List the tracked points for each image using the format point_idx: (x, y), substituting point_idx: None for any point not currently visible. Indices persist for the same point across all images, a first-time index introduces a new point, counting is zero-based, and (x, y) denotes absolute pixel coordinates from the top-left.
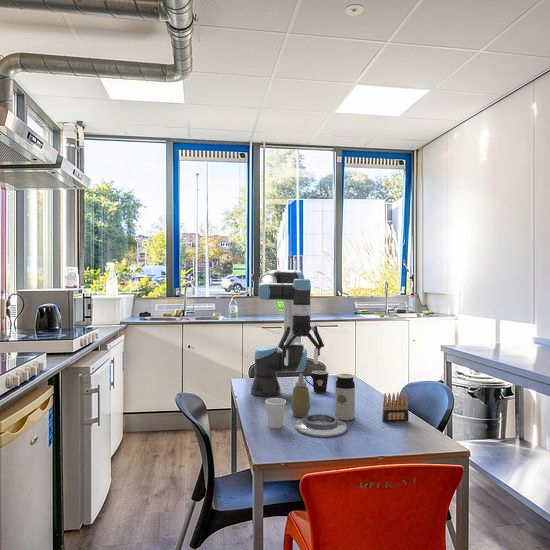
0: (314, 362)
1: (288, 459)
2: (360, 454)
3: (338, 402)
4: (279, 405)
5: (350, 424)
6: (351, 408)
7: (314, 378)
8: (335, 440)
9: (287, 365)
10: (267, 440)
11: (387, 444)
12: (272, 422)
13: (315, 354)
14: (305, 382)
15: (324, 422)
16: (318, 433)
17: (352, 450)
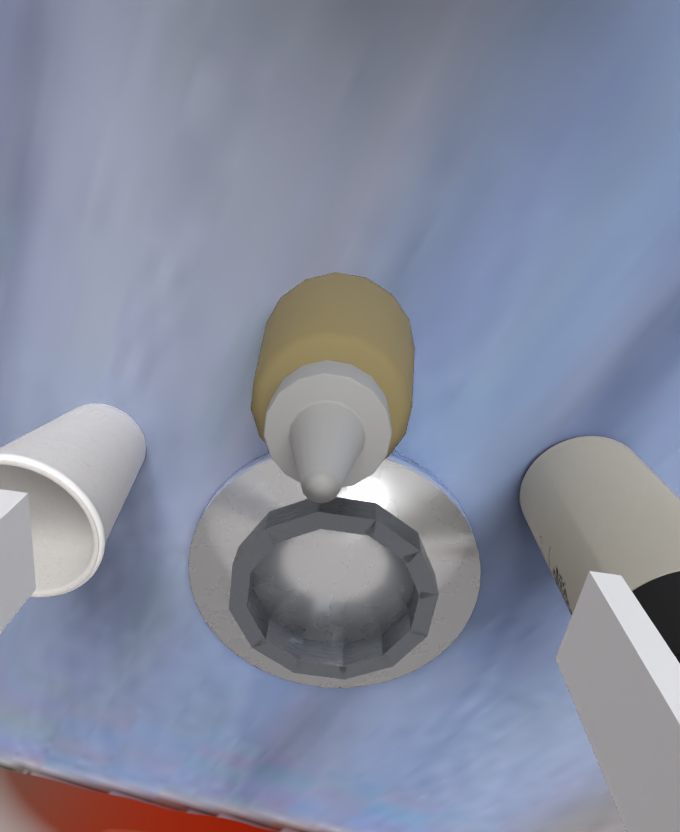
0: (585, 607)
1: (47, 759)
2: (320, 814)
3: (551, 567)
4: (38, 583)
5: (522, 583)
6: None
7: None
8: (311, 702)
9: (24, 589)
10: None
11: (482, 796)
12: (57, 487)
13: (644, 796)
14: (363, 474)
15: (370, 567)
16: (255, 664)
17: (315, 786)
